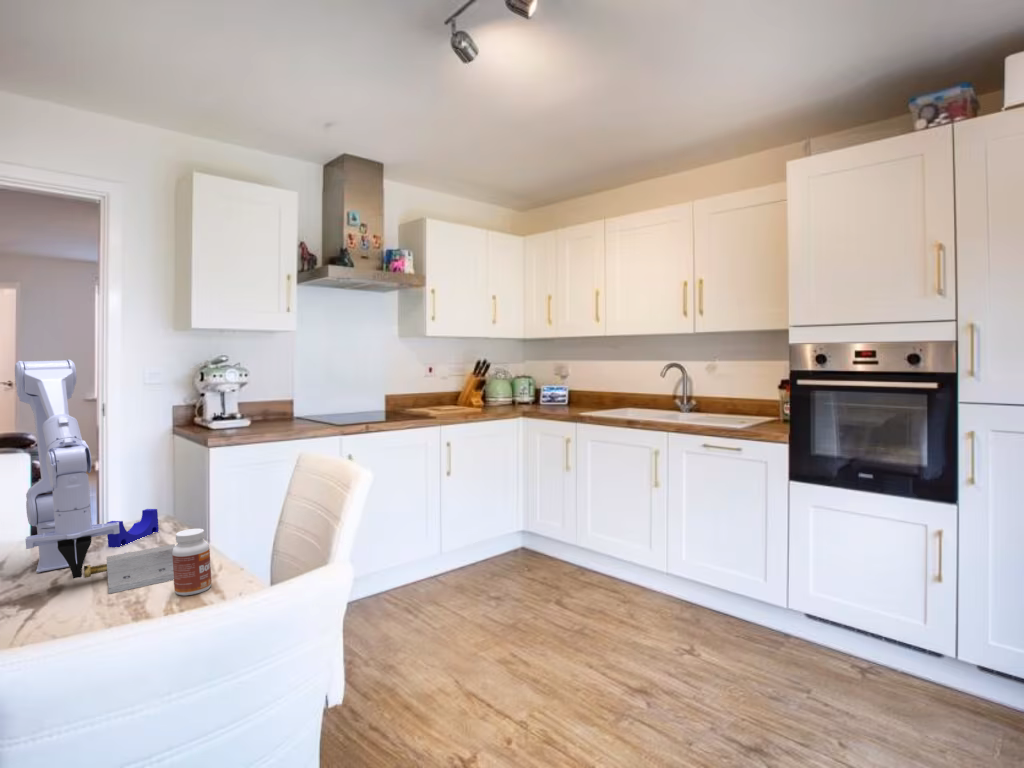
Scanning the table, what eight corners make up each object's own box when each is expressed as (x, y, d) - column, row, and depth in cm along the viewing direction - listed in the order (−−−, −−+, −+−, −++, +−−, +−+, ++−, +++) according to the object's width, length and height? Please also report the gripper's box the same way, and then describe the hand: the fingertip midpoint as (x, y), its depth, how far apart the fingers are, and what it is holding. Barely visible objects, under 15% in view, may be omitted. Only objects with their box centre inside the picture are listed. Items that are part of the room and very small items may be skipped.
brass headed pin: (84, 579, 114) (83, 567, 114) (84, 575, 116) (84, 564, 116) (161, 563, 122) (161, 552, 122) (160, 560, 124) (160, 550, 123)
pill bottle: (206, 594, 108) (203, 535, 107) (169, 598, 106) (165, 538, 106) (215, 581, 114) (212, 525, 113) (180, 585, 112) (177, 528, 112)
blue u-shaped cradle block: (143, 531, 149) (141, 508, 149) (158, 532, 148) (157, 509, 148) (102, 547, 137) (100, 522, 137) (119, 548, 137) (117, 523, 136)
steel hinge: (108, 593, 109) (107, 573, 109) (107, 564, 125) (105, 546, 125) (181, 577, 116) (180, 558, 116) (171, 552, 132) (170, 535, 132)
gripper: (21, 519, 106) (27, 592, 107) (117, 505, 115) (122, 573, 115) (25, 511, 112) (31, 580, 113) (116, 498, 120) (121, 563, 121)
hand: (77, 576), depth 114 cm, fingers closed
